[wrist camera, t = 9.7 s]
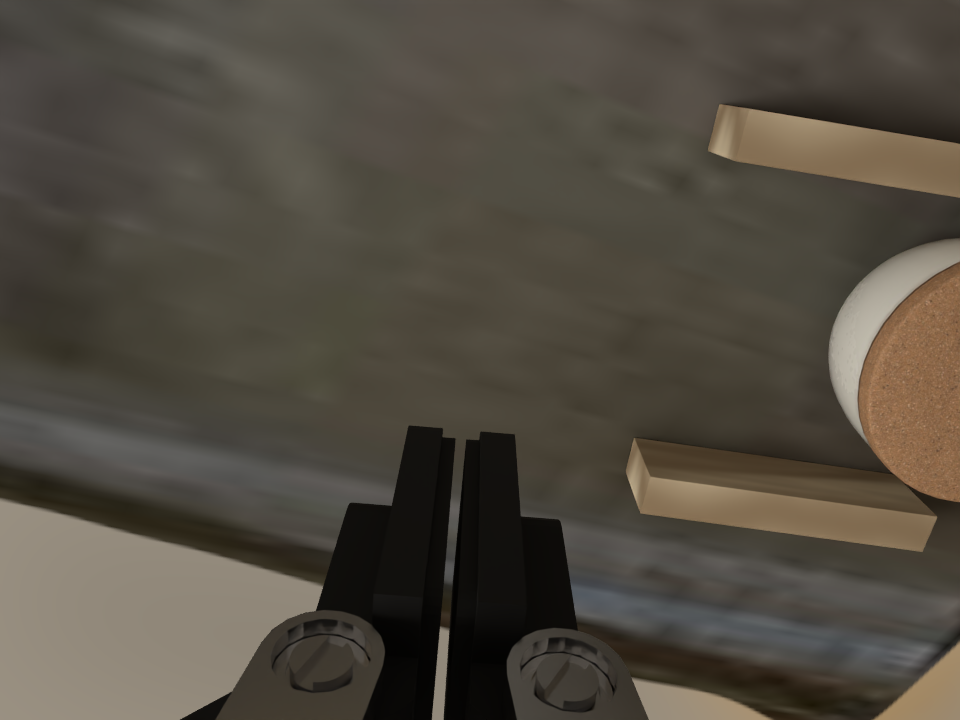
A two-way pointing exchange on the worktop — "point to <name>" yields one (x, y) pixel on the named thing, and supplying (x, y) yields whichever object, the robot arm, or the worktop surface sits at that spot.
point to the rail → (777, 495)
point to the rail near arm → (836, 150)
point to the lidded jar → (905, 365)
